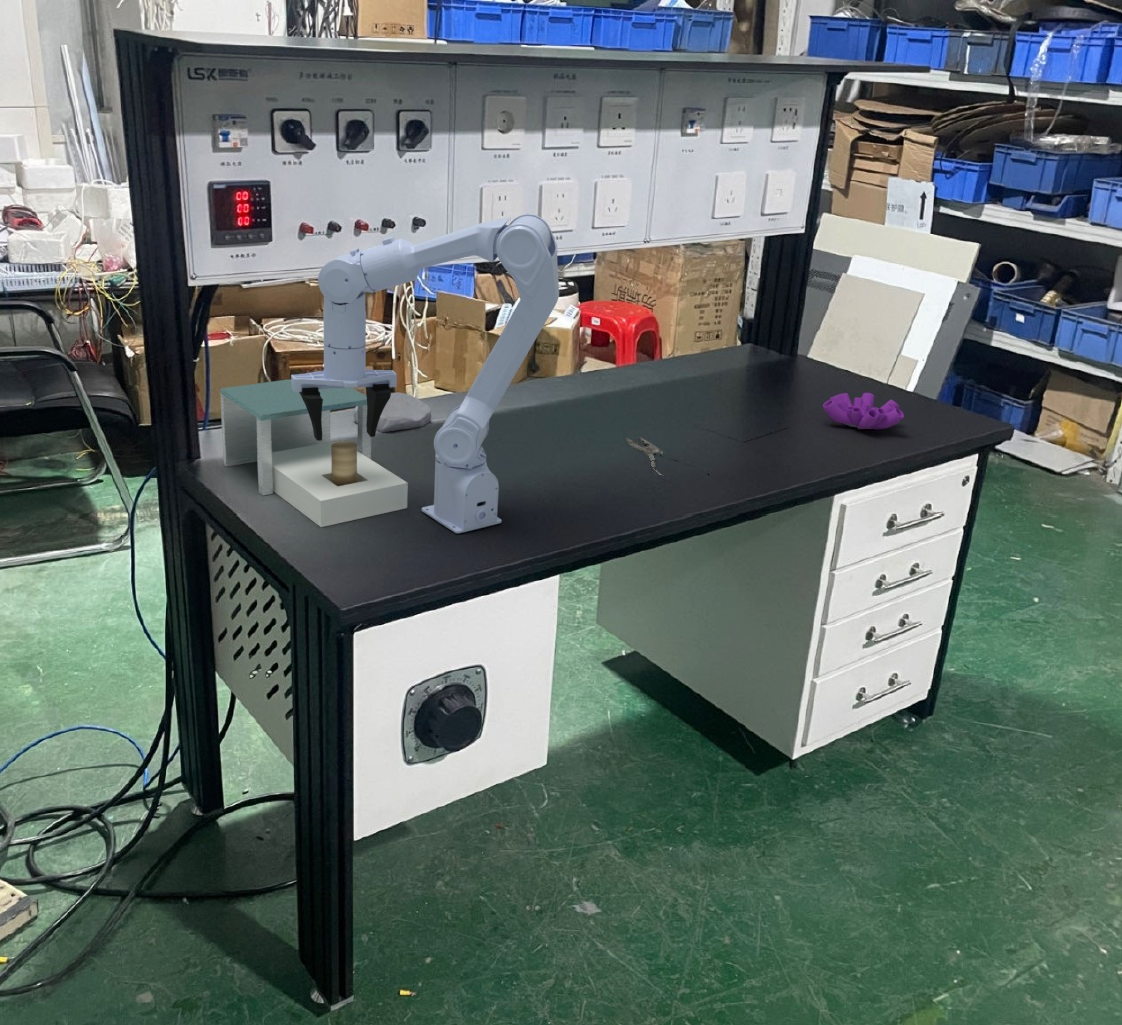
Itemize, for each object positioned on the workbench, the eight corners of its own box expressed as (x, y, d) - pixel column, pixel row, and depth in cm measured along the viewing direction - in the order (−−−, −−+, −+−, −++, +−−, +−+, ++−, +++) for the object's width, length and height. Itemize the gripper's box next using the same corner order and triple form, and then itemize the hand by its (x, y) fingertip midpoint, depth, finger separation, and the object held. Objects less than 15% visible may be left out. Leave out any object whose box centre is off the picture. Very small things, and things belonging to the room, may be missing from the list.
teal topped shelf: (370, 474, 173) (371, 398, 169) (263, 495, 163) (260, 415, 158) (327, 446, 183) (327, 374, 178) (223, 464, 172) (220, 388, 167)
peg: (359, 500, 161) (359, 449, 158) (334, 502, 160) (334, 450, 157) (353, 490, 164) (353, 440, 161) (329, 492, 163) (329, 442, 160)
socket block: (407, 508, 163) (407, 482, 161) (320, 527, 154) (320, 500, 153) (340, 464, 176) (340, 440, 175) (258, 479, 168) (257, 454, 166)
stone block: (435, 431, 200) (397, 407, 204) (439, 408, 197) (400, 384, 202) (387, 449, 191) (348, 423, 196) (391, 424, 189) (351, 399, 193)
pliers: (676, 482, 179) (597, 443, 193) (675, 487, 180) (597, 448, 194) (717, 473, 185) (638, 435, 199) (717, 477, 185) (638, 440, 199)
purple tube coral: (829, 432, 222) (849, 390, 223) (898, 453, 213) (919, 410, 214) (812, 408, 213) (834, 365, 214) (883, 429, 204) (906, 384, 205)
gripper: (298, 353, 147) (299, 449, 152) (403, 349, 153) (401, 442, 158) (287, 339, 153) (289, 432, 158) (389, 336, 158) (388, 426, 164)
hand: (344, 436), depth 158 cm, fingers open, 7 cm apart
